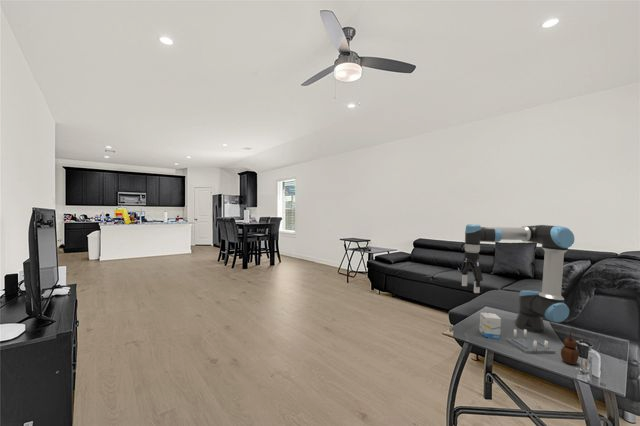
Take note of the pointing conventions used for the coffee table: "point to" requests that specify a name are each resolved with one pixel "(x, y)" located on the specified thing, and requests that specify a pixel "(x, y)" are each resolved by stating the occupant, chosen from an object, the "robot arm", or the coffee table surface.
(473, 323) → the coffee table surface
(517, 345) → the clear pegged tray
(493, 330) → the ink box
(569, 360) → the wooden figurine
